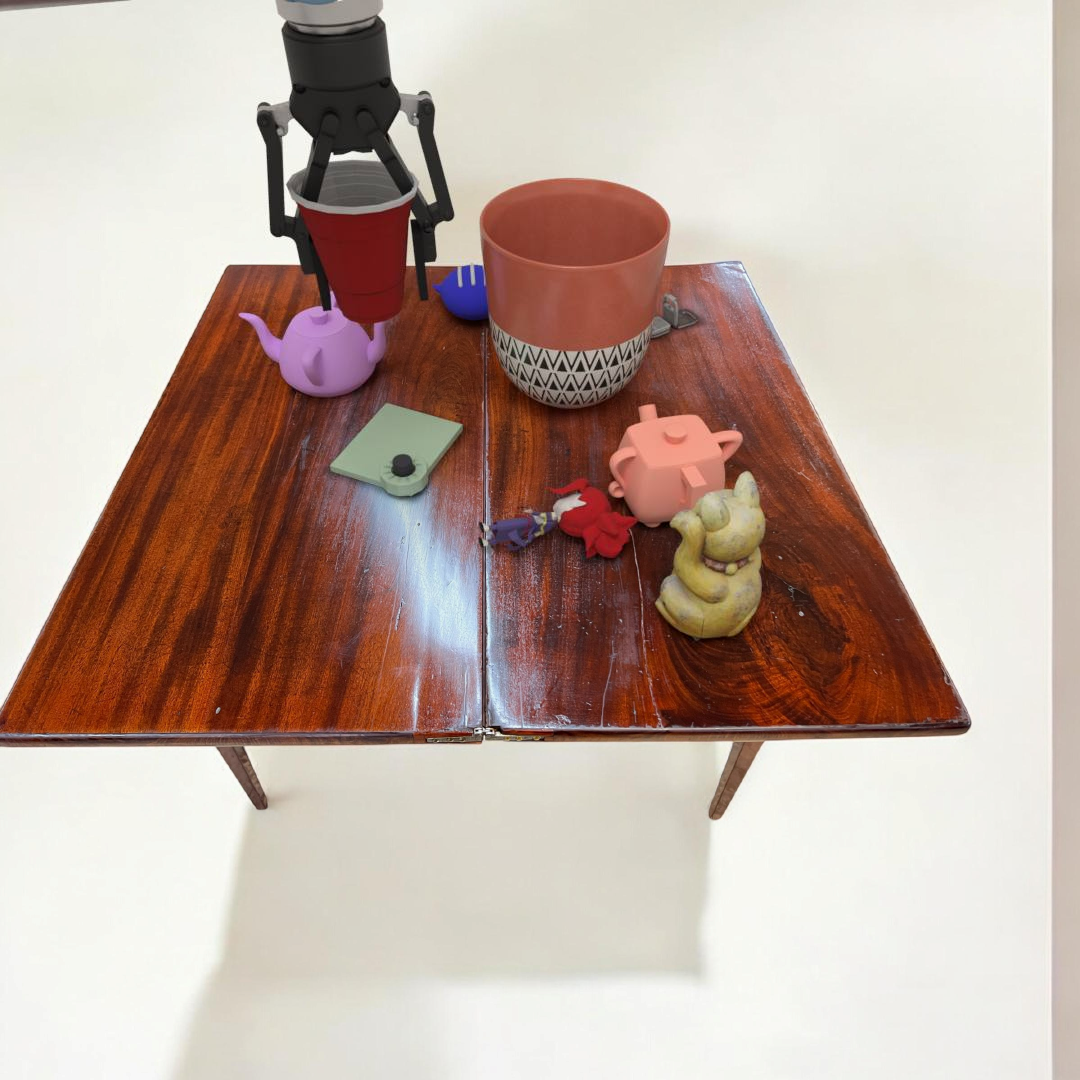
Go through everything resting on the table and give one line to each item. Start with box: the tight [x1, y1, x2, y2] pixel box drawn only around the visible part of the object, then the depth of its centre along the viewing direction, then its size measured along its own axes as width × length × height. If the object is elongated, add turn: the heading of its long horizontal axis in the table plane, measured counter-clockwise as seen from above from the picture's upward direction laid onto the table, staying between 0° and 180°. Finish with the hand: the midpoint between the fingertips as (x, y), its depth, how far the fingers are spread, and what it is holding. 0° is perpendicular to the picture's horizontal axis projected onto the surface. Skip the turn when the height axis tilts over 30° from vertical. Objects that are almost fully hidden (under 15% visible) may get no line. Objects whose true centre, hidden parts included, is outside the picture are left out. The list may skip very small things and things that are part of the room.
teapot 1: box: [238, 290, 389, 398], centre depth 101 cm, size 12×14×9 cm
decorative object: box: [432, 262, 489, 321], centre depth 113 cm, size 10×6×10 cm
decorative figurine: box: [654, 470, 766, 642], centre depth 74 cm, size 10×8×15 cm
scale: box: [329, 402, 464, 497], centre depth 93 cm, size 13×11×2 cm
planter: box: [478, 177, 672, 410], centre depth 95 cm, size 20×20×21 cm
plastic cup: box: [285, 159, 420, 325], centre depth 75 cm, size 11×11×12 cm
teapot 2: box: [608, 403, 744, 528], centre depth 86 cm, size 12×12×10 cm
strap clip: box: [650, 293, 700, 339], centre depth 111 cm, size 8×3×4 cm, turn 121°
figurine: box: [477, 477, 639, 559], centre depth 83 cm, size 6×8×15 cm
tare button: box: [392, 454, 413, 477], centre depth 89 cm, size 2×2×2 cm
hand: (375, 297), depth 78 cm, fingers closed on plastic cup, 8 cm apart
